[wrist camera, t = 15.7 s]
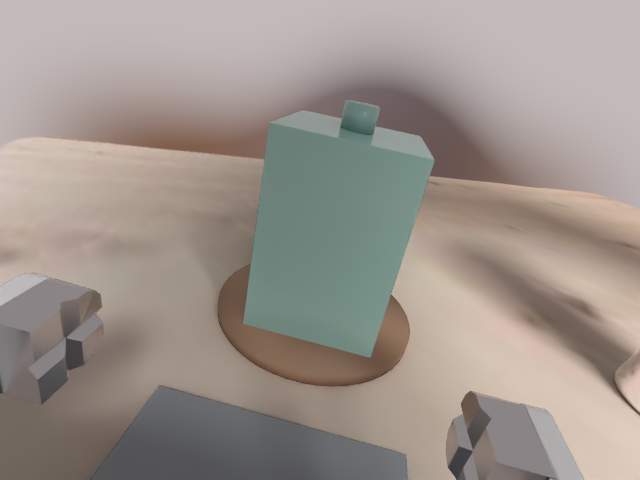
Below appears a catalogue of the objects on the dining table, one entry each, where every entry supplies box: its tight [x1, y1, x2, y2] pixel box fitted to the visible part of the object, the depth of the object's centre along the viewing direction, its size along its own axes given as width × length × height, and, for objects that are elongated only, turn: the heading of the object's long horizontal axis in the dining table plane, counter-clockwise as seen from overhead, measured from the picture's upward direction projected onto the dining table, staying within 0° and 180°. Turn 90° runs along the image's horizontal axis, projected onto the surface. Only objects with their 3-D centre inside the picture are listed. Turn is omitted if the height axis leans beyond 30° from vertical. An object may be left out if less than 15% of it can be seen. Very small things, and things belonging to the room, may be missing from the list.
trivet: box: [218, 264, 410, 386], centre depth 22 cm, size 11×11×1 cm
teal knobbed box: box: [243, 100, 434, 358], centre depth 19 cm, size 7×7×11 cm
